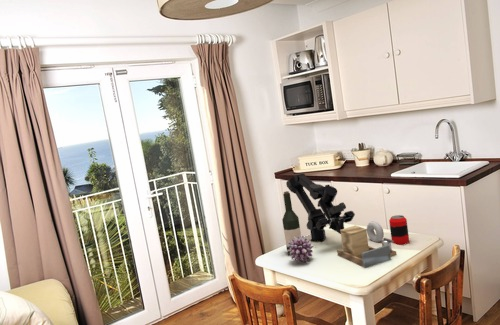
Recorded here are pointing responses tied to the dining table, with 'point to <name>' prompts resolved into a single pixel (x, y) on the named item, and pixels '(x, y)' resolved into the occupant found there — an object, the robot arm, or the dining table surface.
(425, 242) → the dining table surface
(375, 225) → the donut
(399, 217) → the soda can
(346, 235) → the tall wooden block
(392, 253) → the post
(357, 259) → the bay
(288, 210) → the wine bottle
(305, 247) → the purple spiky ball
